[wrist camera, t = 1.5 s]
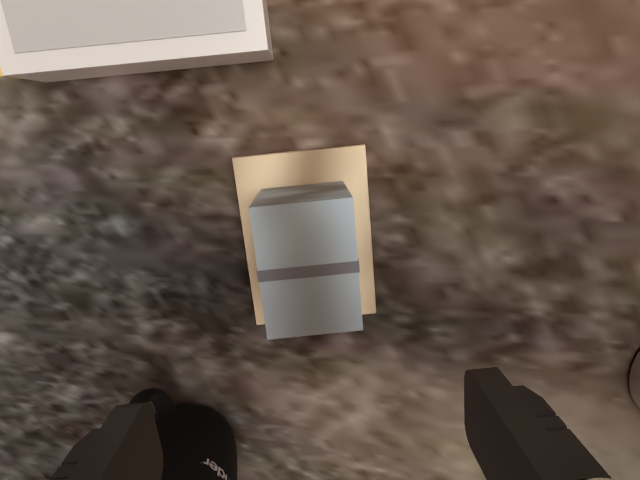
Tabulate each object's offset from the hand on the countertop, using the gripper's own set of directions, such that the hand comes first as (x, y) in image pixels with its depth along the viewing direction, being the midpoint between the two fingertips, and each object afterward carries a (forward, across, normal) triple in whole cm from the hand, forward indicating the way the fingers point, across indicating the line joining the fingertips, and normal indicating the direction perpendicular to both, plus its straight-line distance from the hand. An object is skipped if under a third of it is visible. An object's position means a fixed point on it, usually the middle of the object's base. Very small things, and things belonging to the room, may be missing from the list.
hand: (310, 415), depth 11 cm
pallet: (+19, 0, 0) cm, 19 cm away
